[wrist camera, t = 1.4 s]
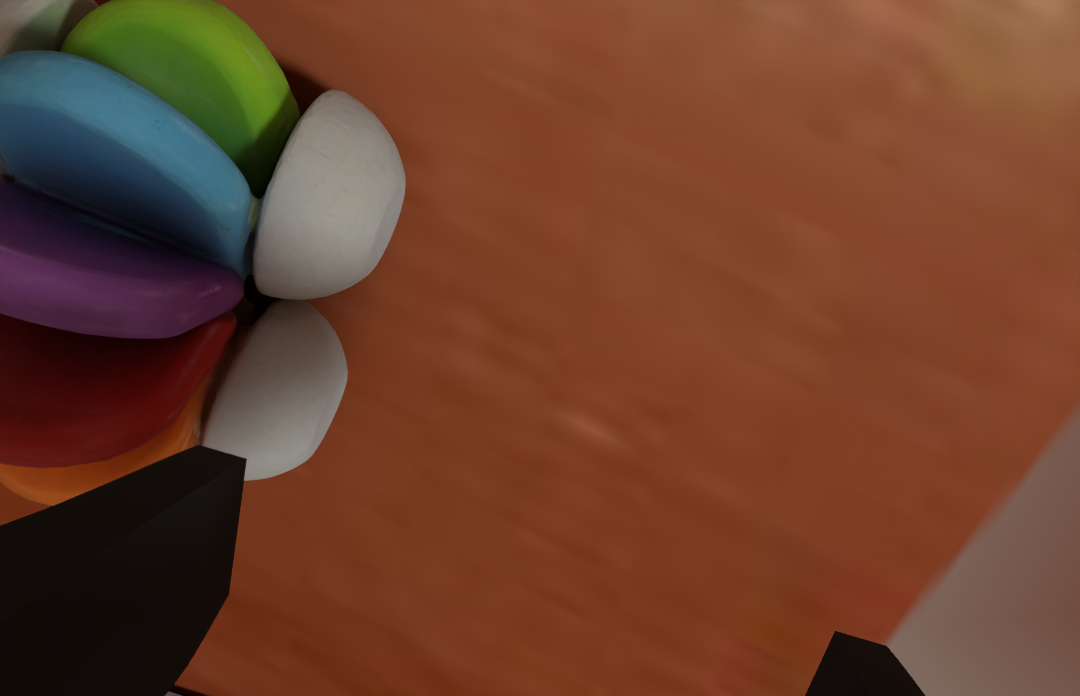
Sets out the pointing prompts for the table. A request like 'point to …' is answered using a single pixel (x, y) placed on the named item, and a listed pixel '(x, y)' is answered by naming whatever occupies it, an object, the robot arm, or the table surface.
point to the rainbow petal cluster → (171, 242)
